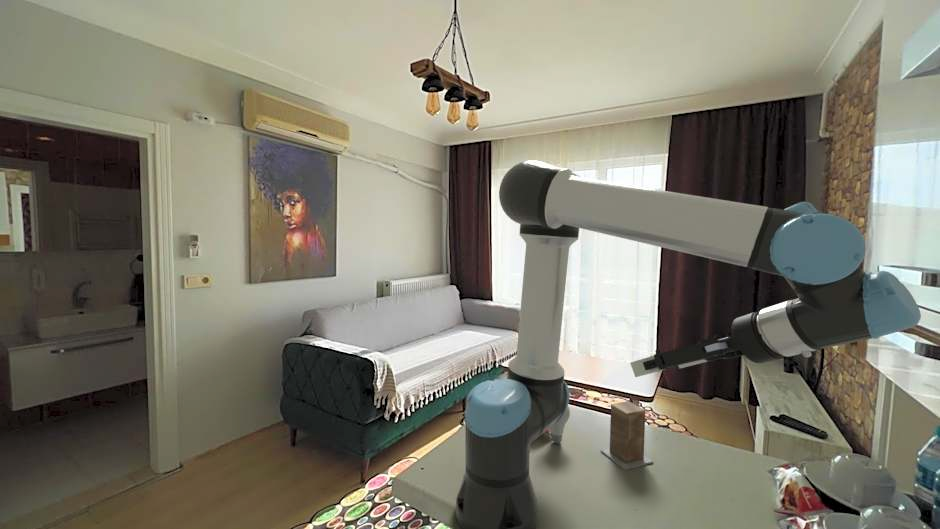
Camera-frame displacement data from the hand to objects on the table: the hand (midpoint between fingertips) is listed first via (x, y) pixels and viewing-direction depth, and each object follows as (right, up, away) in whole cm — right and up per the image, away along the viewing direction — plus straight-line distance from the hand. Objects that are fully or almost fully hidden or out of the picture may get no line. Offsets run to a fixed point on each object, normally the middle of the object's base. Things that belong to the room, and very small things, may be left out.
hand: (656, 365), depth 75 cm
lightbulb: (-15, -25, +21) cm, 36 cm away
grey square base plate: (0, -25, +14) cm, 29 cm away
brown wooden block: (0, -25, +14) cm, 29 cm away
